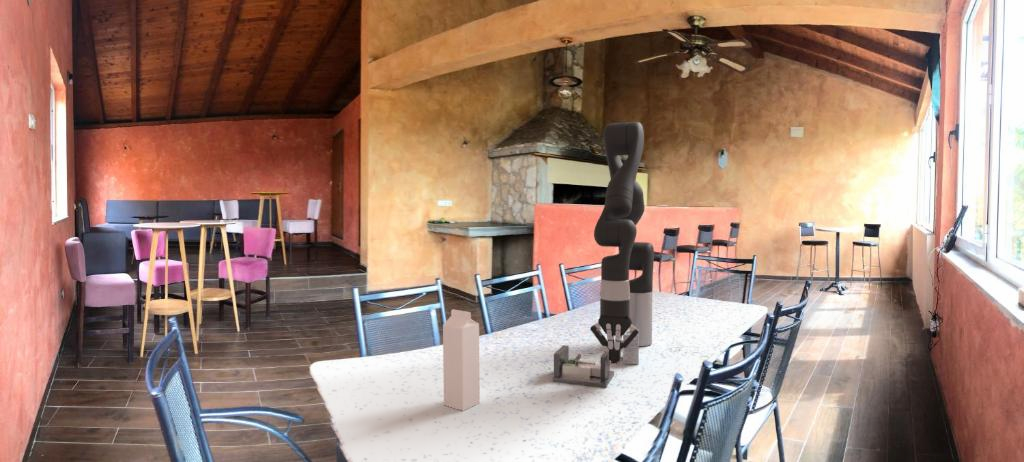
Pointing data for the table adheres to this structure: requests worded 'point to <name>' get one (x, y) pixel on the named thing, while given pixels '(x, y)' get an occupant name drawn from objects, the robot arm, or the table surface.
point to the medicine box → (631, 350)
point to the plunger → (597, 366)
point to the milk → (461, 361)
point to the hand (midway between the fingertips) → (614, 362)
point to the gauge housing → (576, 371)
